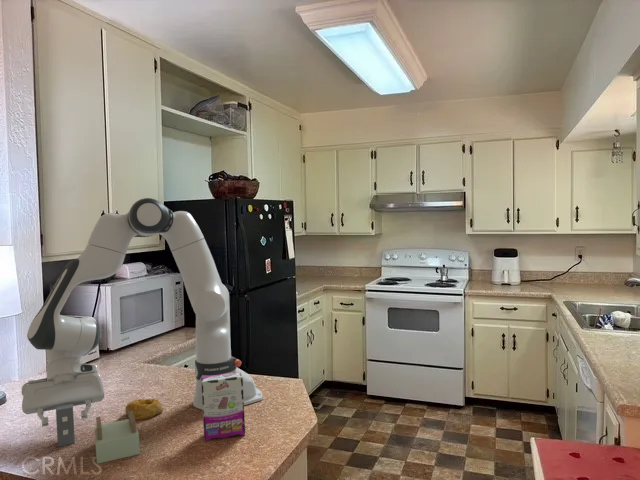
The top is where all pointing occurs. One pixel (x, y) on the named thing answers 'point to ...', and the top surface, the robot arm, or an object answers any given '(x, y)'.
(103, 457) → the bracket shelf
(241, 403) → the candy bar box
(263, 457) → the top surface
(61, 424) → the tall grey pillar
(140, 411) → the bagel
